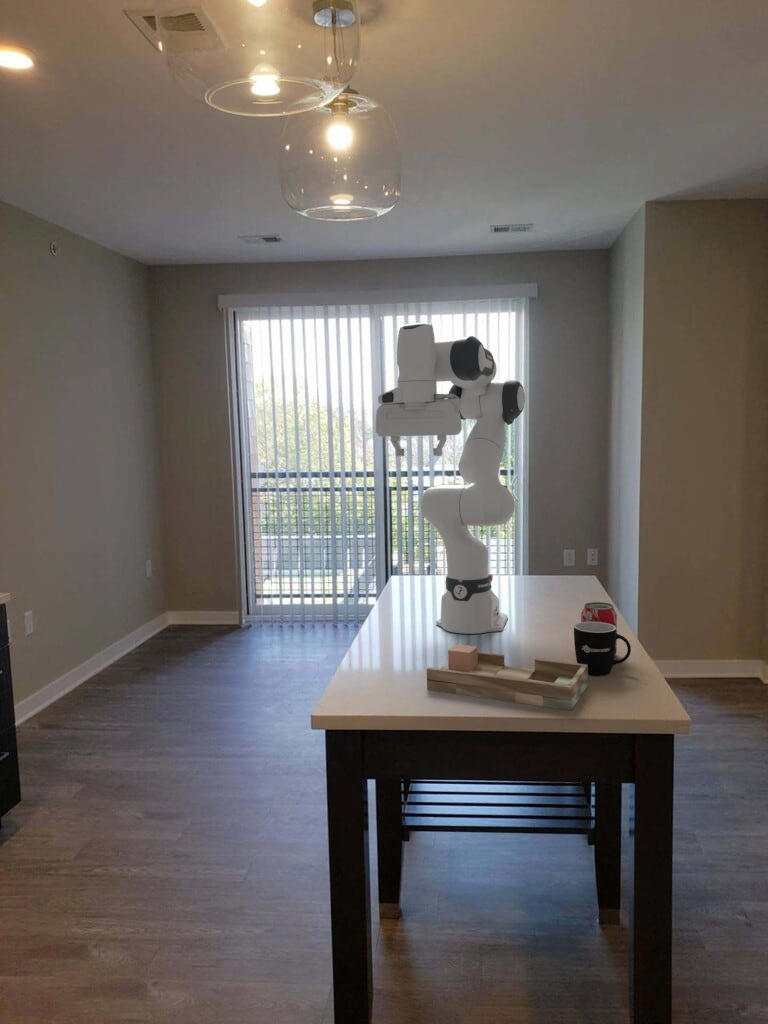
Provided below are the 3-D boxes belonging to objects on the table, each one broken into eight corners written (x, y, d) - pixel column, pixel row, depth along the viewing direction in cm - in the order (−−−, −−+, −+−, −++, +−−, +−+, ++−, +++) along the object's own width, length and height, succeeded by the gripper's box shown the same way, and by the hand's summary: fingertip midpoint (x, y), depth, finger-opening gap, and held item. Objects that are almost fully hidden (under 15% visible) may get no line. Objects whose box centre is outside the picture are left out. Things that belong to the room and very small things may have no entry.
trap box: (453, 668, 170) (453, 649, 170) (587, 685, 157) (587, 664, 156) (427, 689, 157) (426, 668, 156) (571, 710, 143) (571, 687, 143)
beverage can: (616, 661, 172) (617, 610, 171) (580, 659, 174) (581, 608, 173) (616, 651, 180) (616, 602, 178) (581, 649, 182) (581, 600, 181)
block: (456, 661, 168) (456, 644, 167) (477, 664, 165) (477, 646, 165) (448, 668, 163) (448, 650, 163) (470, 670, 161) (469, 652, 160)
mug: (574, 677, 162) (574, 631, 161) (573, 664, 171) (573, 620, 170) (632, 680, 159) (632, 633, 158) (628, 666, 168) (629, 622, 167)
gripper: (465, 393, 168) (466, 455, 170) (384, 397, 178) (385, 455, 179) (455, 392, 163) (456, 456, 164) (371, 396, 172) (373, 457, 173)
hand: (418, 456), depth 172 cm, fingers open, 8 cm apart
